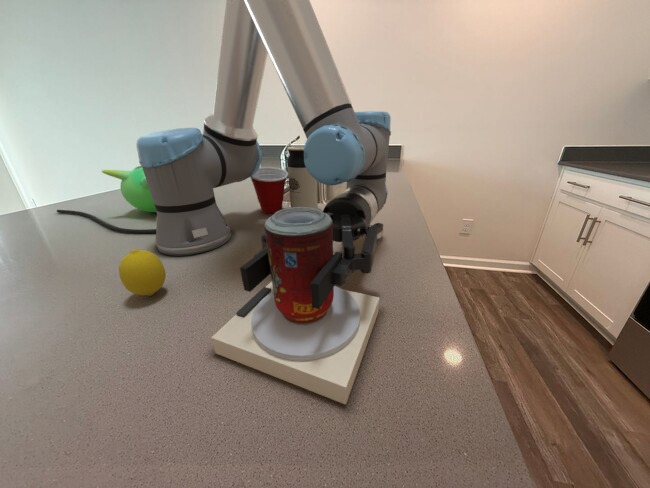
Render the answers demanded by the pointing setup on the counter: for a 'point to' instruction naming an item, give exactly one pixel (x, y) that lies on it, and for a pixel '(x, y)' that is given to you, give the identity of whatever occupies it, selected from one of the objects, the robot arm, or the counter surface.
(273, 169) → the plastic cup
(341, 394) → the kitchen scale
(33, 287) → the counter surface
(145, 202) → the toy bird
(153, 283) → the lemon
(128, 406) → the counter surface
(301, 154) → the travel mug
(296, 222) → the soda can
